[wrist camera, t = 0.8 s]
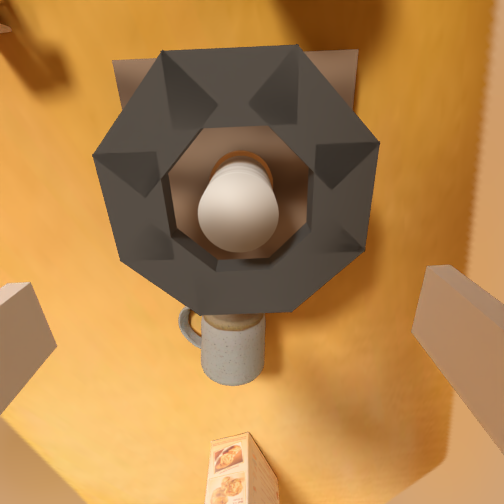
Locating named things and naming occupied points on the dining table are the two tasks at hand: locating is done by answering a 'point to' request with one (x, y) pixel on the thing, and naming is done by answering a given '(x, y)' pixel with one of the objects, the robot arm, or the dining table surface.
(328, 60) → the pipe stand
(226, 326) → the ceramic mug
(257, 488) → the coffeecake box
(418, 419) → the dining table surface
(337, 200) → the ring
